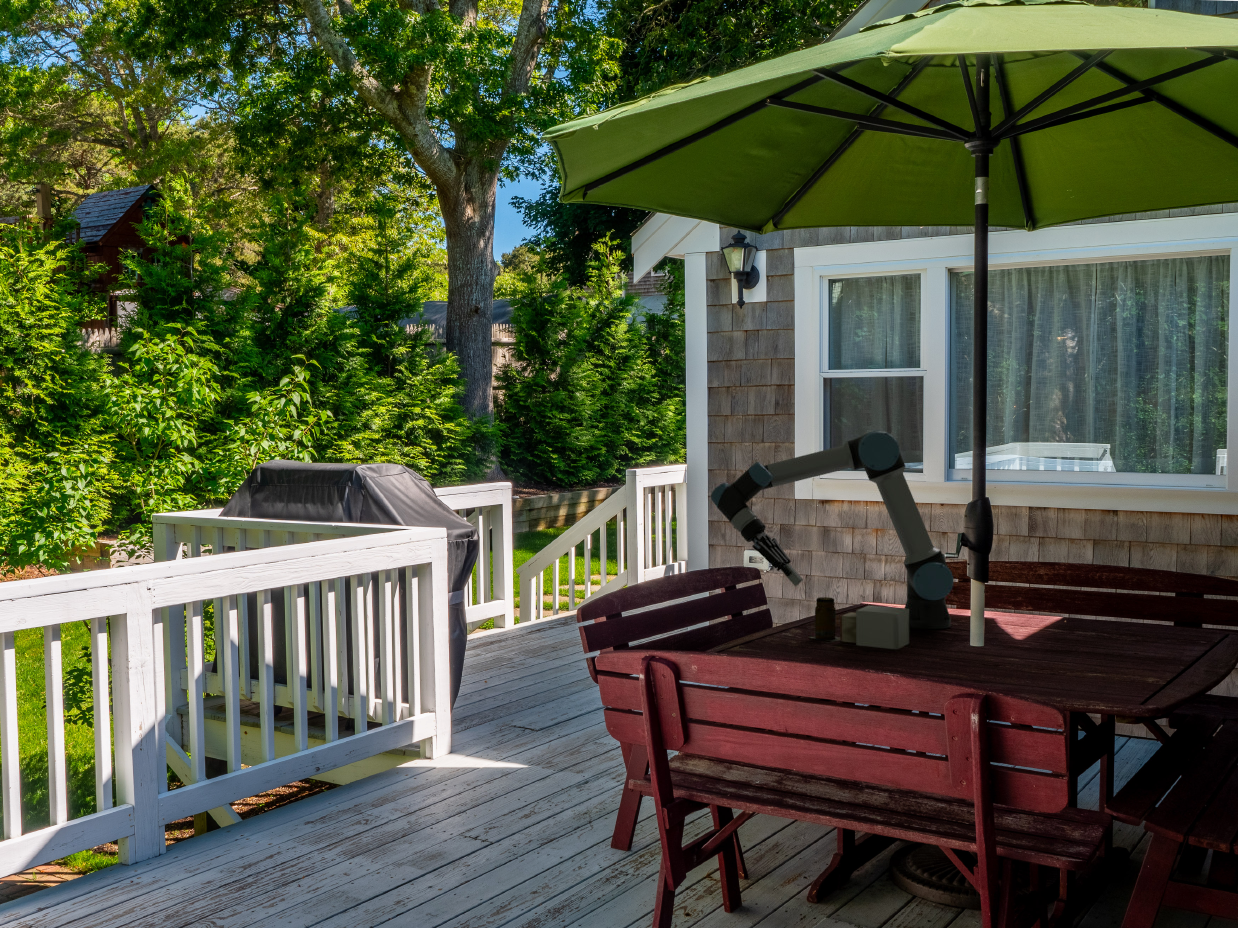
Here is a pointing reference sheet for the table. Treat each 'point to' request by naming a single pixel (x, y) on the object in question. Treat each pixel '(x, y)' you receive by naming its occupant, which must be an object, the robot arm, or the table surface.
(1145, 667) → the table surface
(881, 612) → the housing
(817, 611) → the condiment
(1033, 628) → the table surface
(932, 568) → the robot arm
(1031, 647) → the table surface
